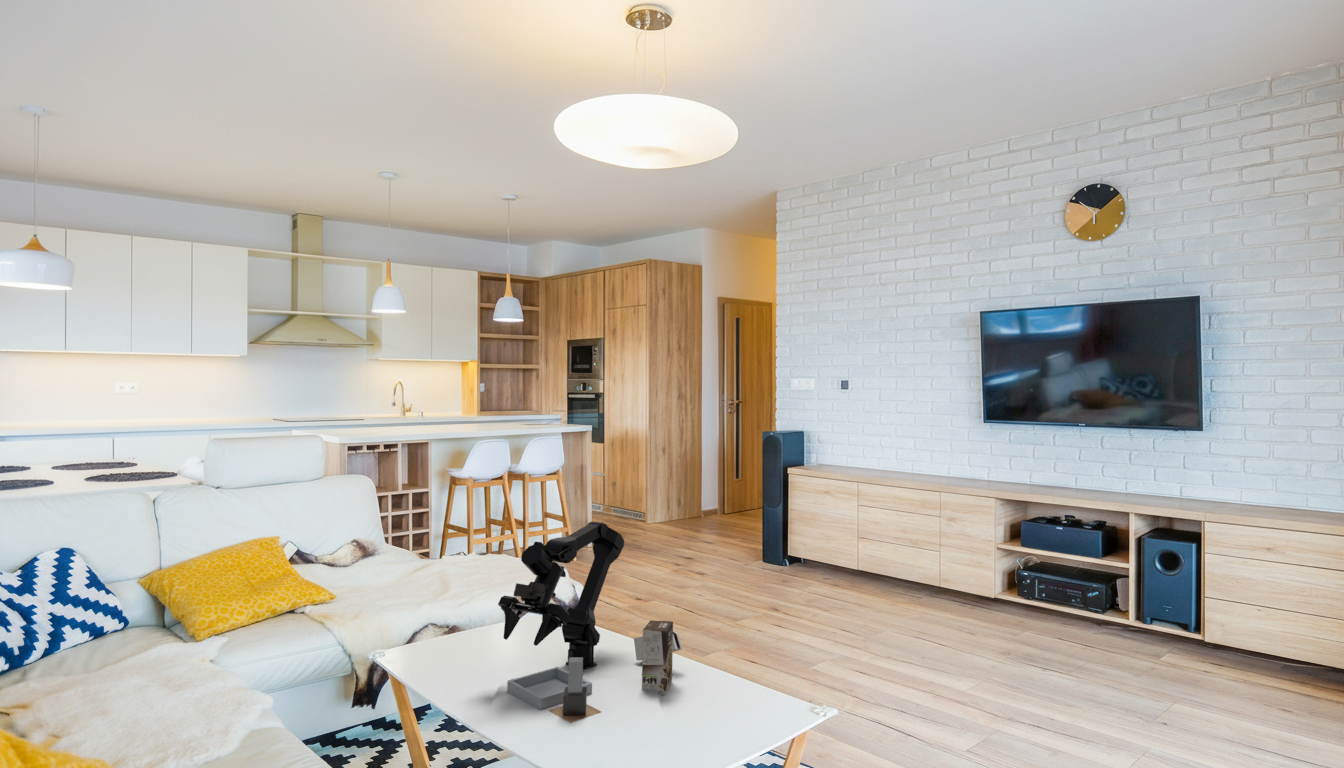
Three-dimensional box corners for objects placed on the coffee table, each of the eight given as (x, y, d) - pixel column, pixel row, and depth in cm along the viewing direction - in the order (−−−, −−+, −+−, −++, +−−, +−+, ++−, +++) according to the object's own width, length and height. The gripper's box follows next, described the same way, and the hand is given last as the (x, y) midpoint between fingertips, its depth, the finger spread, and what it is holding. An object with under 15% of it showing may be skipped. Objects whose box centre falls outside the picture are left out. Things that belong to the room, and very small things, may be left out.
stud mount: (579, 704, 187) (579, 687, 187) (601, 716, 180) (602, 698, 180) (547, 714, 181) (548, 697, 181) (570, 727, 174) (570, 708, 174)
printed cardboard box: (636, 674, 213) (676, 663, 204) (632, 637, 217) (670, 625, 209) (647, 673, 216) (686, 663, 207) (642, 637, 220) (680, 625, 212)
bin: (557, 680, 202) (557, 666, 202) (591, 697, 191) (592, 683, 191) (507, 694, 192) (507, 680, 192) (540, 713, 181) (541, 698, 181)
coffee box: (665, 695, 193) (666, 631, 193) (640, 693, 194) (641, 629, 195) (673, 682, 202) (674, 620, 202) (649, 680, 203) (650, 619, 204)
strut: (564, 706, 183) (565, 656, 183) (586, 706, 183) (587, 655, 183) (563, 715, 178) (563, 663, 178) (585, 715, 178) (586, 663, 178)
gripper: (501, 564, 197) (473, 621, 188) (561, 573, 189) (535, 633, 180) (521, 585, 205) (496, 641, 196) (580, 594, 196) (556, 653, 187)
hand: (519, 641), depth 189 cm, fingers open, 9 cm apart
